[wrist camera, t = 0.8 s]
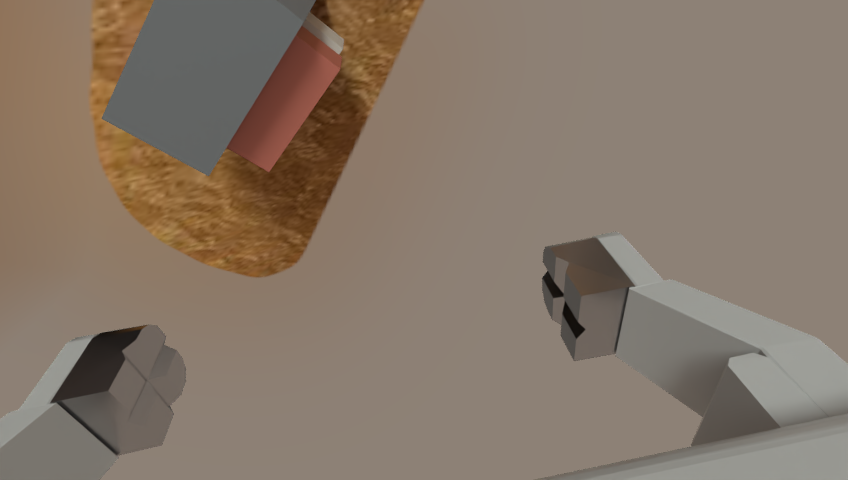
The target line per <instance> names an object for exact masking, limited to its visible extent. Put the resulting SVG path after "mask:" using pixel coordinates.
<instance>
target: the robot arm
mask: <svg viewBox="0 0 848 480" xmlns="http://www.w3.org/2000/svg"><path fill="white" fill-rule="evenodd" d="M543 263H544V265H545V266H546V268H547V270H548V271H547V272H546V274H545V275H544V276H543V278H542V291H543V296H544V301H545V304H546V307H547V310H548V312H549V314H550V316H551V318H552V320H554V321H555V322H557V323H559V324H561V337H562V339H563V341H564V343H565V345H566V347H567V349H568V351H569V352H570V354H571V356H572V358H573V360H574V361H577V360H583V359H589V358H594V357H600V356H606V355H611V354H616V357H618V358H619V359H621V360H622V361H624V362H625V363H627V364H628V365H629V366H631V367H632V368H633V369H635V370H636V371H638V372H639V373H641V374H642V375H643V376H645V377H646V378H648V379H649V380H651V381H652V382H654V383H655V384H656V385H658V386H659V387H661V388H662V389H663V390H665V391H666V392H668V393H669V394H671V395H672V396H674V397H675V398H676V399H678V400H679V401H680V402H682V403H683V404H685V405H686V406H688V407H689V408H691V409H692V410H693V411H695V412H696V413H698V414H699V415H701V416H702V417H703V418H702V420H701V422H700V425H699V427H698V429H697V431H696V434H695V436H694V438H693V442H692V444H691V446H692V447H687V448H682V449H677V450H673V451H668V452H663V453H659V454H654V455H649V456H644V457H640V458H635V459H631V460H626V461H621V462H616V463H612V464H607V465H602V466H598V467H593V468H588V469H583V470H578V471H574V472H569V473H564V474H560V475H555V476H550V477H545V478H541V479H536V480H848V364H847V363H846V362H845V361H844V360H842V359H841V358H840V357H839V356H838V355H837V354H835V353H834V352H833V351H832V350H831V349H830V348H829V347H827V346H826V345H825V344H824V343H823V342H821V341H820V340H819V339H818V338H816V337H814V336H811V335H809V334H806V333H804V332H801V331H799V330H796V329H794V328H791V327H789V326H786V325H784V324H781V323H779V322H776V321H774V320H772V319H769V318H766V317H764V316H761V315H759V314H757V313H754V312H752V311H749V310H747V309H744V308H741V307H739V306H736V305H734V304H732V303H729V302H727V301H724V300H722V299H719V298H717V297H714V296H712V295H709V294H706V293H704V292H702V291H699V290H697V289H694V288H692V287H689V286H686V285H684V284H682V283H679V282H677V281H674V280H666V281H664V280H663V279H662V278H661V277H660V276H659V275H658V273H657V272H656V271H655V270H654V269H653V268H652V267H651V266H650V265H649V264H648V263H647V262H646V261H645V259H644V258H643V257H642V256H641V255H640V254H639V253H638V252H637V251H636V250H635V249H634V247H632V245H631V244H630V243H629V242H628V241H627V240H626V239H625V238H624V237H623V236H622V235H621V234H620V233H618V232H612V233H607V234H602V235H598V236H593V237H592V238H586V239H581V240H576V241H571V242H566V243H562V244H557V245H552V246H547V247H545V249H544V252H543ZM165 339H166V336H165V334H164V333H163V332H162V331H161V330H160V328H159V327H158V326H156V325H143V326H138V327H132V328H126V329H121V330H115V331H109V332H103V333H100V334H95V335H88V336H83V337H77V338H75V339H73V340H71V341H69V342H68V343H66V345H65V346H64V348H63V349H62V350H61V352H60V353H59V355H58V356H57V357H56V359H55V360H54V361H53V363H52V364H51V366H50V367H49V368H48V370H47V371H46V373H45V374H44V375H43V377H42V378H41V380H40V381H39V382H38V384H37V385H36V386H35V388H34V389H33V391H32V392H31V393H30V395H29V396H28V398H27V399H26V400H25V402H24V403H23V405H22V406H21V407H20V409H19V410H17V411H12V412H9V413H8V414H7V415H5V416H4V417H3V418H1V419H0V480H100V479H101V478H102V477H103V475H104V474H105V473H106V472H107V471H108V470H109V469H110V467H111V466H112V465H113V464H114V463H115V461H116V460H117V459H118V455H122V454H127V453H131V452H135V451H139V450H144V449H148V448H152V447H157V446H161V445H162V444H163V441H164V439H165V436H166V433H167V431H168V428H169V425H170V423H171V420H172V418H173V415H174V413H173V411H172V409H171V407H170V405H171V404H172V403H173V402H174V401H175V400H176V399H177V398H178V397H179V396H180V395H181V394H182V391H183V388H184V385H185V382H186V368H185V364H184V362H183V359H182V357H181V356H180V354H179V353H178V351H177V350H175V349H173V348H170V347H168V346H165V345H164V343H165Z"/></svg>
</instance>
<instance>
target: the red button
mask: <svg viewBox="0 0 848 480" xmlns="http://www.w3.org/2000/svg"><path fill="white" fill-rule="evenodd" d="M341 60H342V57H341V56H340V55H339V54H337V53H336V52H335V51H334V50H332V49H331V48H330V47H329V46H327V45H326V44H325V43H323V42H322V41H321V40H320V39H318V38H317V37H316V36H315V35H313V34H312V33H311V32H309V31H308V30H307V29H306V28H304V27H303V26H301V27H300V29H299V31H298V32H297V34H296V36H295V37H294V39H293V40H292V42H291V44H290V45H289V47H288V49H287V50H286V52H285V53H284V55H283V57H282V58H281V60H280V61H279V63H278V65H277V66H276V68H275V70H274V71H273V73H272V74H271V76H270V78H269V79H268V81H267V82H266V84H265V86H264V87H263V89H262V91H261V92H260V94H259V95H258V97H257V99H256V100H255V102H254V104H253V105H252V107H251V108H250V110H249V112H248V113H247V115H246V116H245V118H244V120H243V121H242V123H241V125H240V126H239V128H238V129H237V131H236V133H235V134H234V136H233V137H232V139H231V141H230V142H229V144H228V146H227V147H226V148H228V149H230V150H232V151H233V152H235V153H237V154H238V155H240V156H242V157H244V158H245V159H247V160H249V161H250V162H252V163H254V164H256V165H257V166H259V167H261V168H263V169H264V170H266V171H268V172H270V170H271V169H272V167H273V166H274V164H275V163H276V161H277V160H278V159H279V157H280V156H281V154H282V153H283V151H284V150H285V148H286V147H287V146H288V144H289V143H290V141H291V140H292V138H293V137H294V135H295V134H296V133H297V131H298V130H299V128H300V127H301V125H302V124H303V122H304V121H305V120H306V118H307V117H308V115H309V114H310V112H311V111H312V109H313V108H314V107H315V105H316V104H317V102H318V101H319V99H320V98H321V96H322V95H323V94H324V92H325V91H326V89H327V88H328V86H329V85H330V84H331V82H332V81H333V79H334V78H335V76H336V75H337V73H338V72H339V71H340V68H341Z"/></svg>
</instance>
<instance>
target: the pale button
mask: <svg viewBox="0 0 848 480" xmlns="http://www.w3.org/2000/svg"><path fill="white" fill-rule="evenodd" d="M302 26H303V27H304V28H306V29H307V30H308V31H309V32H311V33H312V34H313V35H315V36H316V37H317V38H318V39H320V40H321V41H322V42H323V43H325V44H326V45H327V46H329V47H330V48H331V49H332V50H334V51H335V52H336V53H337V54H340V52H341V51H342V49H343V44H344V39H343V38H341V37H340V36H339V35H338V34H336V33H335V32H334V31H333V30H332V29H330V28H329V27H328V26H327V25H325V24H324V23H323V22H322V21H320V20H319V19H318V18H317V17H315V16H314V15H313V14H312V13H310V12H309V14H308V15H307V17H306V19H305V21H304V23H303V24H302Z"/></svg>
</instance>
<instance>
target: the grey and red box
mask: <svg viewBox="0 0 848 480" xmlns="http://www.w3.org/2000/svg"><path fill="white" fill-rule="evenodd" d="M315 1H316V0H154V2H153V4H152V7H151V9H150V11H149V13H148V16H147V18H146V20H145V22H144V25H143V27H142V29H141V31H140V33H139V36H138V38H137V40H136V42H135V45H134V47H133V49H132V51H131V54H130V56H129V58H128V60H127V63H126V65H125V67H124V69H123V72H122V74H121V76H120V78H119V81H118V83H117V85H116V87H115V90H114V92H113V94H112V96H111V99H110V101H109V103H108V105H107V107H106V110H105V112H104V114H103V116H102V119H103V120H105V121H107V122H109V123H111V124H112V125H114V126H116V127H118V128H120V129H122V130H124V131H126V132H127V133H129V134H131V135H133V136H135V137H137V138H139V139H140V140H142V141H144V142H146V143H148V144H150V145H152V146H153V147H155V148H157V149H159V150H161V151H163V152H165V153H167V154H168V155H170V156H172V157H174V158H176V159H178V160H180V161H181V162H183V163H185V164H187V165H189V166H191V167H193V168H194V169H196V170H198V171H200V172H202V173H204V174H206V175H208V176H209V175H210V173H211V171H212V170H213V168H214V167H215V165H216V163H217V162H218V160H219V159H220V157H221V155H222V154H223V152H224V150H225V149H226V147H227V146H228V144H229V142H230V141H231V139H232V137H233V136H234V134H235V133H236V131H237V129H238V128H239V126H240V125H241V123H242V121H243V120H244V118H245V116H246V115H247V113H248V112H249V110H250V108H251V107H252V105H253V104H254V102H255V100H256V99H257V97H258V95H259V94H260V92H261V91H262V89H263V87H264V86H265V84H266V82H267V81H268V79H269V78H270V76H271V74H272V73H273V71H274V70H275V68H276V66H277V65H278V63H279V61H280V60H281V58H282V57H283V55H284V53H285V52H286V50H287V49H288V47H289V45H290V44H291V42H292V40H293V39H294V37H295V36H296V34H297V32H298V31H299V29H300V27H301V26H302V24H303V23H304V21H305V19H306V17H307V15H308V14H309V12H310V10H311V8H312V6H313V5H314V3H315Z"/></svg>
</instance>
